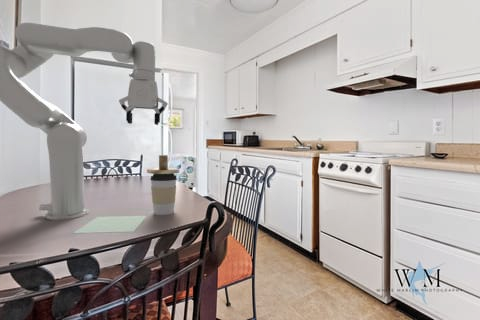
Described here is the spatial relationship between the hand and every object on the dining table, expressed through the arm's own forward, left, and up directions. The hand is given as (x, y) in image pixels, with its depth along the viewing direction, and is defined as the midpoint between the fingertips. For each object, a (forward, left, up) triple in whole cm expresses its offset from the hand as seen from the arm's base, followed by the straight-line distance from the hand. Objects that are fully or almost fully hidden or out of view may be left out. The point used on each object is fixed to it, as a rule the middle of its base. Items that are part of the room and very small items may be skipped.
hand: (143, 123), depth 96 cm
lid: (+8, -6, -17) cm, 20 cm away
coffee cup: (+8, -6, -33) cm, 34 cm away
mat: (-5, -18, -32) cm, 37 cm away
